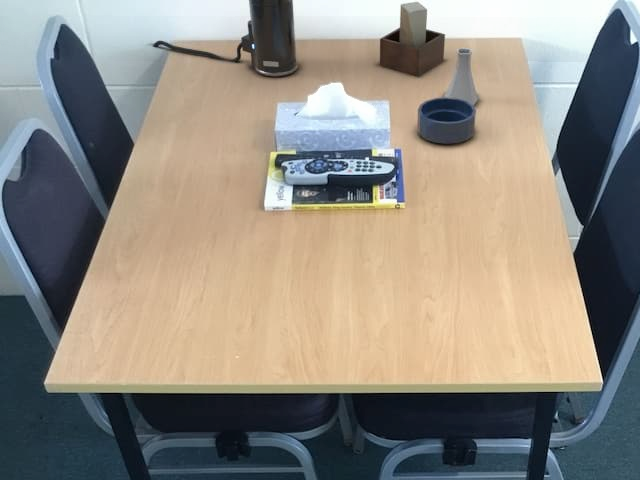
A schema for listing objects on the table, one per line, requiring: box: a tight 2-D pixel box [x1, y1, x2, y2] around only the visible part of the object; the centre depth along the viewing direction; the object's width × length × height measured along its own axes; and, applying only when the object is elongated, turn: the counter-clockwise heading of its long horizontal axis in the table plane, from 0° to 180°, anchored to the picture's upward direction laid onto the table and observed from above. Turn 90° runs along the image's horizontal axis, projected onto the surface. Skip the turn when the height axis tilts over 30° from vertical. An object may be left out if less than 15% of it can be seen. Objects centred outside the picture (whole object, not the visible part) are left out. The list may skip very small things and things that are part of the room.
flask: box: [443, 47, 479, 107], centre depth 177 cm, size 7×7×10 cm
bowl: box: [416, 96, 477, 145], centre depth 170 cm, size 11×11×4 cm
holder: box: [379, 27, 446, 77], centre depth 191 cm, size 10×10×6 cm
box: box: [399, 1, 428, 48], centre depth 189 cm, size 5×4×11 cm
